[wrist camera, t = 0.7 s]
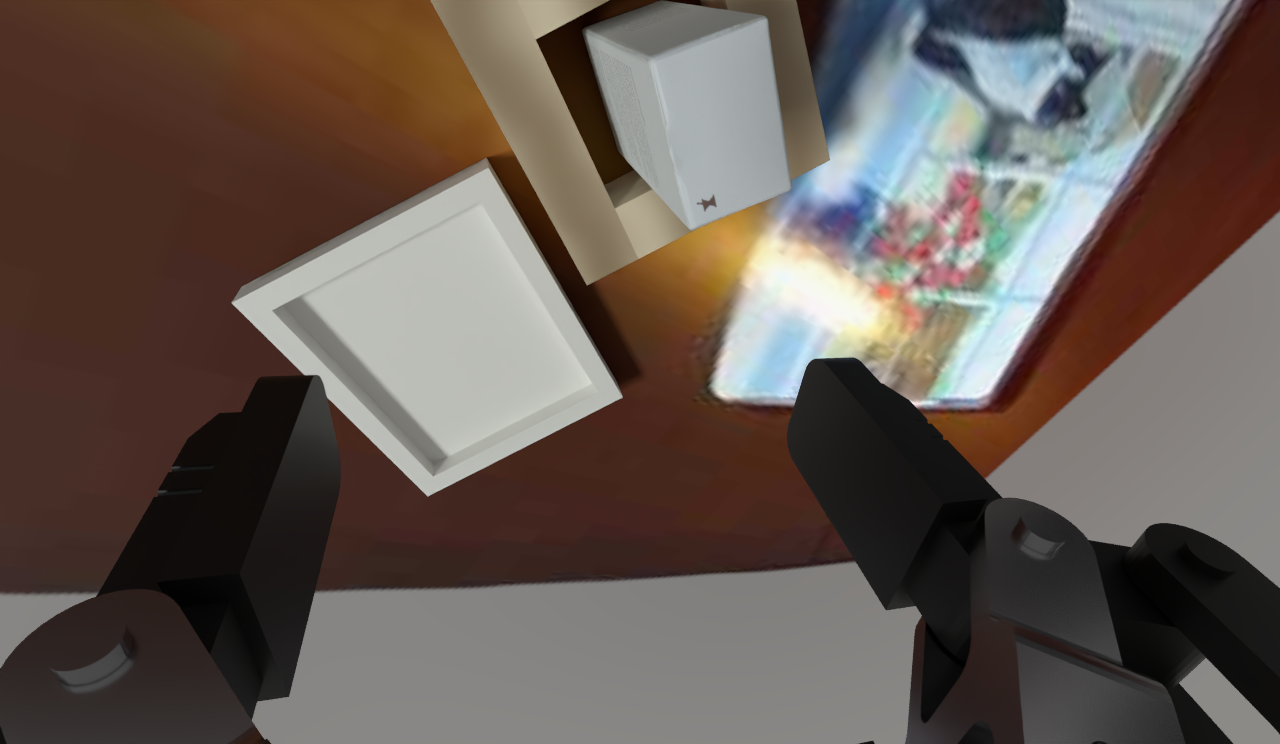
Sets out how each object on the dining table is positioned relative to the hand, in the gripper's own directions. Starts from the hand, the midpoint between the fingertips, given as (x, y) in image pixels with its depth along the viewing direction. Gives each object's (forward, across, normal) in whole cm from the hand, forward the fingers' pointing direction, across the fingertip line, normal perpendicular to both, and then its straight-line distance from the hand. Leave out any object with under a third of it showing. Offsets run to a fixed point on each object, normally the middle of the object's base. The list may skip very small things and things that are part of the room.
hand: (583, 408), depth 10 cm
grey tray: (+24, +4, +13) cm, 27 cm away
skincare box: (+24, -6, -2) cm, 25 cm away
